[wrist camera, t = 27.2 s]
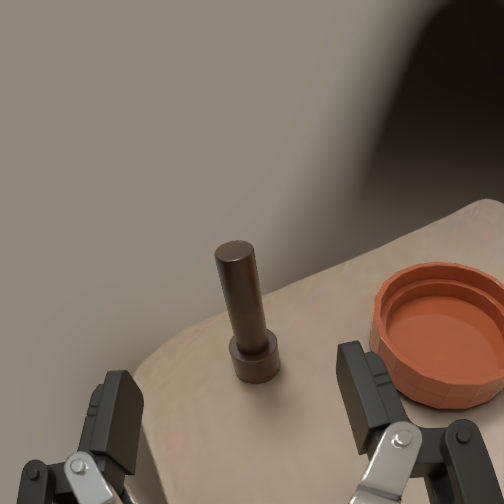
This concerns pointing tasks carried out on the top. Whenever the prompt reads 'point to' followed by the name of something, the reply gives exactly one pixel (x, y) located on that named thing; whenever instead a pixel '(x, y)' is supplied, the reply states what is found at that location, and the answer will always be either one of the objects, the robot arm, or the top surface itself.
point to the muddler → (246, 314)
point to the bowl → (441, 334)
